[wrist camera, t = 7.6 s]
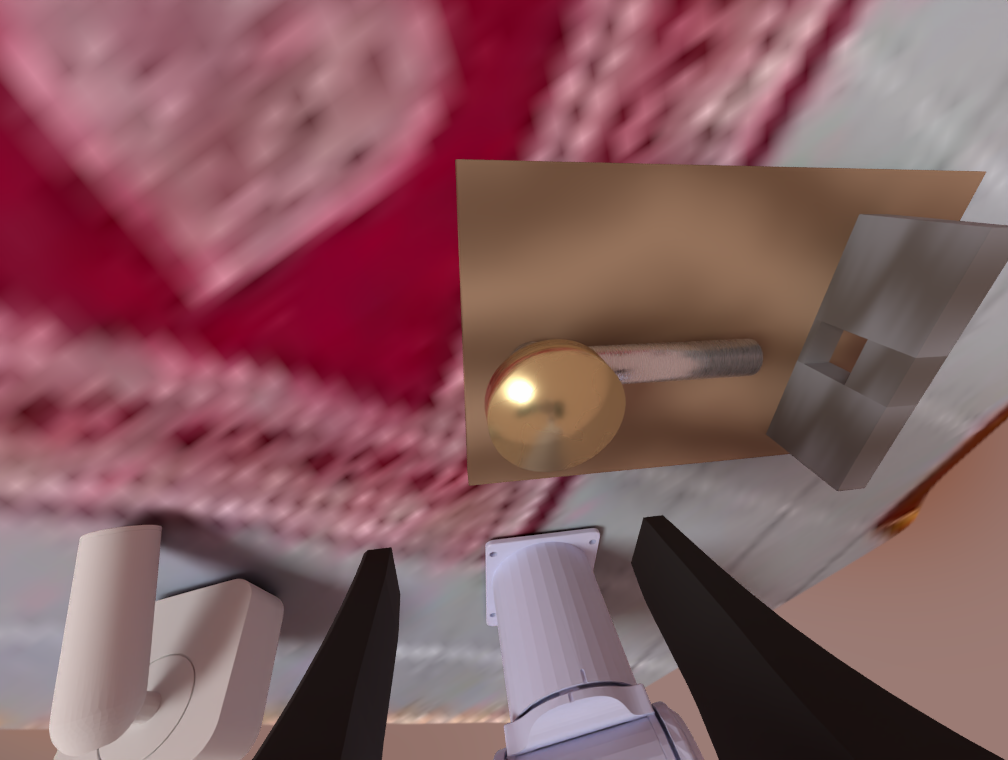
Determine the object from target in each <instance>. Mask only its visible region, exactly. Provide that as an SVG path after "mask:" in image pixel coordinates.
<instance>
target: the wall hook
mask: <svg viewBox="0 0 1008 760" xmlns="http://www.w3.org/2000/svg"><path fill="white" fill-rule="evenodd" d="M161 533H162V527H161V526H158V525H136V526H126V527H118V528H111V529H106V530H101V531H96V532H92V533H89V534H86V535H83V536H82V537H80V541H79V547H78V553H77V559H76V565H75V571H74V577H73V583H72V589H71V595H70V601H69V607H68V613H67V619H66V625H65V631H64V637H63V643H62V649H61V655H60V661H59V667H58V673H57V679H56V685H55V691H54V697H53V704H52V711H51V717H50V725H49V731H50V737H51V740H52V743H53V744H54V746H55V747H56V748H57V749H58V751H57V753H56V755H55V757H54V759H53V760H241V759H243V758H244V756H245V755H246V754H247V753H248V752H249V750H250V749H251V747H252V746H253V744H254V743H255V741H256V739H257V737H258V734H259V731H260V728H261V724H262V720H263V715H264V710H265V705H266V700H267V695H268V690H269V685H270V680H271V675H272V670H273V665H274V660H275V655H276V650H277V645H278V640H279V635H280V630H281V625H282V620H283V614H284V606H283V603H282V601H281V600H280V599H279V598H278V597H276V596H274V595H272V594H270V593H268V592H266V591H265V590H263V589H261V588H259V587H257V586H255V585H253V584H252V583H250V582H248V581H246V580H244V579H234V580H231V581H227V582H223V583H219V584H216V585H212V586H208V587H205V588H201V589H197V590H194V591H190V592H187V593H183V594H179V595H176V596H172V597H169V598H165V599H161V600H158V601H155V600H156V589H157V578H158V566H159V555H160V544H161Z"/></svg>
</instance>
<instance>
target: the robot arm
mask: <svg viewBox="0 0 1008 760" xmlns="http://www.w3.org/2000/svg"><path fill="white" fill-rule="evenodd" d="M599 539H600V533H599V530H598V529H596V528H588V529H580V530H572V531H563V532H555V533H547V534H538V535H530V536H522V537H513V538H505V539H496V540H491V541H489V542H487V543H486V546H485V550H486V621H487V625H489V626H496V625H498V631H499V638H500V646H501V653H502V661H503V668H504V676H505V683H506V690H507V698H508V705H509V713H510V720H511V723H508V724H505V725H504V732H505V740H506V748H504V749H501V750H499V751H497V752H496V754H495V756H494V759H493V760H704V758H703V756H702V754H701V752H700V750H699V748H698V746H697V744H696V742H695V740H694V738H693V736H692V734H691V733H690V731H689V729H688V727H687V726H686V724H685V722H684V721H683V720H682V718H681V717H680V716H679V715H678V714H677V713H676V712H674V711H673V710H671V709H670V708H668V706H667V705H666V704H665V703H663V702H656V703H653V704H652V705H651V702H650V700H649V697H648V695H647V693H646V690H645V688H644V685H643V684H637V683H636V680H635V678H634V675H633V673H632V670H631V668H630V665H629V663H628V660H627V657H626V655H625V652H624V650H623V647H622V645H621V642H620V640H619V637H618V634H617V632H616V629H615V627H614V624H613V622H612V619H611V616H610V614H609V611H608V609H607V606H606V604H605V601H604V599H603V596H602V593H601V591H600V588H599V586H598V583H597V581H596V578H595V576H594V573H593V569H594V564H595V559H596V554H597V549H598V544H599ZM631 564H632V567H633V569H634V572H635V575H636V578H637V581H638V583H639V586H640V589H641V591H642V594H643V596H644V599H645V601H646V603H647V605H648V607H649V609H650V611H651V613H652V615H653V617H654V619H655V621H656V623H657V625H658V627H659V629H660V631H661V633H662V635H663V637H664V639H665V641H666V643H667V645H668V647H669V649H670V651H671V653H672V655H673V657H674V659H675V661H676V663H677V665H678V667H679V669H680V671H681V673H682V675H683V677H684V679H685V681H686V683H687V685H688V687H689V689H690V691H691V694H692V696H693V698H694V700H695V702H696V704H697V706H698V709H699V711H700V714H701V716H702V719H703V721H704V724H705V726H706V729H707V731H708V733H709V736H710V738H711V741H712V743H713V746H714V748H715V750H716V753H717V756H718V758H719V760H1004V759H1003V758H1001V757H999V756H997V755H995V754H994V753H992V752H990V751H988V750H986V749H984V748H982V747H981V746H979V745H977V744H975V743H973V742H972V741H970V740H968V739H966V738H964V737H963V736H961V735H959V734H957V733H956V732H954V731H952V730H951V729H949V728H947V727H946V726H944V725H942V724H940V723H939V722H937V721H935V720H934V719H932V718H930V717H929V716H927V715H925V714H924V713H922V712H920V711H918V710H917V709H915V708H914V707H912V706H910V705H909V704H907V703H906V702H904V701H902V700H901V699H899V698H897V697H896V696H894V695H892V694H891V693H889V692H888V691H886V690H885V689H883V688H881V687H880V686H879V685H877V684H875V683H874V682H872V681H871V680H869V679H868V678H866V677H864V676H863V675H861V674H860V673H859V672H857V671H856V670H854V669H852V668H851V667H849V666H848V665H846V664H845V663H844V662H842V661H840V660H839V659H837V658H836V657H835V656H833V655H832V654H830V653H829V652H827V651H826V650H825V649H823V648H822V647H821V646H819V645H818V644H816V643H815V642H814V641H812V640H811V639H810V638H808V637H807V636H805V635H804V634H803V633H801V632H800V631H799V630H797V629H796V628H794V627H793V626H792V625H790V624H789V623H788V622H786V621H785V620H784V619H783V618H781V617H780V616H779V615H777V614H776V613H775V612H774V611H772V610H771V609H770V608H769V607H767V606H766V605H765V604H764V603H762V602H761V601H760V600H759V599H757V598H756V597H755V596H754V595H752V594H751V593H750V592H749V591H748V590H746V589H745V588H744V587H743V586H742V585H740V584H739V583H738V582H737V581H736V580H735V579H733V578H732V577H731V576H730V575H729V574H728V573H726V572H725V571H724V570H723V569H722V568H721V567H720V566H718V565H717V564H716V563H715V562H714V561H713V560H712V559H711V558H709V557H708V556H707V555H706V554H705V553H704V552H703V551H702V550H701V549H699V548H698V547H697V546H696V545H695V544H694V543H693V542H692V541H691V540H689V539H688V538H687V537H686V536H685V535H684V534H683V533H682V532H681V531H680V530H679V529H677V528H676V527H675V526H674V525H673V524H672V523H671V522H670V521H669V520H667V519H666V518H665V517H664V516H663V515H661V516H653V517H645V518H643V521H642V525H641V529H640V532H639V536H638V540H637V544H636V547H635V551H634V555H633V558H632V562H631ZM399 610H400V591H399V585H398V580H397V575H396V569H395V564H394V559H393V553H392V548H382V549H374V550H368V551H366V552H365V553H364V555H363V558H362V560H361V563H360V565H359V568H358V570H357V573H356V575H355V577H354V580H353V582H352V584H351V586H350V588H349V591H348V593H347V595H346V597H345V599H344V601H343V603H342V605H341V608H340V610H339V612H338V614H337V615H336V617H335V619H334V621H333V623H332V625H331V627H330V629H329V631H328V633H327V635H326V637H325V639H324V641H323V643H322V645H321V646H320V648H319V650H318V652H317V654H316V655H315V657H314V659H313V661H312V663H311V664H310V666H309V668H308V670H307V671H306V673H305V675H304V677H303V678H302V680H301V682H300V684H299V686H298V687H297V689H296V691H295V692H294V694H293V696H292V697H291V699H290V701H289V702H288V704H287V706H286V707H285V709H284V711H283V712H282V714H281V716H280V717H279V719H278V720H277V722H276V724H275V725H274V727H273V728H272V730H271V731H270V733H269V735H268V736H267V738H266V739H265V741H264V742H263V744H262V746H261V747H260V749H259V750H258V752H257V753H256V755H255V756H254V758H253V759H252V760H382V751H383V742H384V736H385V728H386V721H387V714H388V707H389V700H390V693H391V686H392V679H393V671H394V664H395V657H396V650H397V642H398V631H399Z"/></svg>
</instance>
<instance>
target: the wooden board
mask: <svg viewBox="0 0 1008 760" xmlns="http://www.w3.org/2000/svg"><path fill="white" fill-rule="evenodd" d="M455 163H456V189H457V215H458V240H459V266H460V292H461V318H462V343H463V369H464V395H465V421H466V446H467V471H468V481H469V485H479V484H489V483H500V482H510V481H520V480H530V479H540V478H550V477H560V476H571V475H581V474H591V473H601V472H611V471H621V470H632V469H642V468H652V467H662V466H672V465H682V464H692V463H703V462H713V461H723V460H733V459H743V458H753V457H763V456H774V455H784V454H791V455H792V456H794V457H795V458H796V459H797V460H799V461H800V462H801V463H802V464H804V465H805V466H806V467H807V468H809V469H810V470H811V471H813V472H814V473H815V474H816V475H818V476H819V477H820V478H821V479H823V480H824V481H825V482H826V483H828V484H829V485H830V486H831V487H833V488H834V489H835V490H836V491H844V490H853V489H861V488H865V486H866V485H867V483H868V482H869V480H870V479H871V477H872V475H873V474H874V472H875V471H876V469H877V467H878V466H879V464H880V463H881V461H882V459H883V458H884V456H885V455H886V453H887V452H888V450H889V448H890V447H891V445H892V444H893V442H894V440H895V439H896V437H897V436H898V434H899V432H900V431H901V429H902V428H903V426H904V425H905V423H906V421H907V420H908V418H909V417H910V415H911V413H912V412H913V410H914V409H915V407H916V406H917V404H918V402H919V401H920V399H921V398H922V396H923V394H924V393H925V391H926V390H927V388H928V386H929V385H930V383H931V382H932V380H933V379H934V377H935V375H936V374H937V372H938V371H939V369H940V367H941V366H942V364H943V363H944V361H945V359H946V358H947V356H948V355H949V353H950V352H951V350H952V348H953V347H954V345H955V344H956V342H957V340H958V339H959V337H960V336H961V334H962V332H963V331H964V329H965V328H966V326H967V325H968V323H969V321H970V320H971V318H972V317H973V315H974V313H975V312H976V310H977V309H978V307H979V306H980V304H981V302H982V301H983V299H984V298H985V296H986V294H987V293H988V291H989V290H990V288H991V286H992V285H993V283H994V282H995V280H996V279H997V277H998V275H999V274H1000V272H1001V271H1002V269H1003V267H1004V266H1005V264H1006V263H1007V261H1008V225H997V224H986V223H976V222H965V221H960V219H961V217H962V216H963V214H964V212H965V210H966V208H967V206H968V204H969V203H970V201H971V199H972V197H973V195H974V193H975V192H976V190H977V188H978V186H979V184H980V182H981V181H982V179H983V177H984V175H985V173H986V172H981V171H938V170H894V169H851V168H807V167H764V166H720V165H676V164H633V163H589V162H546V161H502V160H458V159H457V160H455ZM553 339H564V340H571V341H575V342H578V343H581V344H583V345H586V346H606V345H626V344H647V343H667V342H688V341H708V340H728V339H753V340H755V341H756V342H757V343H758V344H759V345H760V347H761V349H762V352H763V363H762V366H761V368H760V370H759V371H758V372H757V373H756V374H754V375H752V376H742V377H727V378H711V379H696V380H680V381H665V382H649V383H634V384H622V386H623V389H624V393H625V403H626V406H625V413H624V417H623V420H622V423H621V425H620V427H619V429H618V431H617V433H616V434H615V436H614V437H613V439H612V440H611V441H610V442H609V443H608V444H607V446H606V447H605V448H604V449H602V450H601V451H600V452H599V453H598V454H596V455H595V456H594V457H592V458H590V459H589V460H587V461H585V462H583V463H581V464H579V465H577V466H574V467H571V468H568V469H564V470H560V471H553V472H538V471H531V470H527V469H523V468H520V467H518V466H516V465H514V464H512V463H511V462H509V461H507V460H506V459H505V458H504V457H503V456H502V455H501V454H500V453H499V452H498V451H497V449H496V448H495V446H494V445H493V442H492V440H491V438H490V434H489V430H488V425H487V420H486V415H485V407H484V402H485V394H486V389H487V387H488V384H489V381H490V380H491V378H492V376H493V374H494V373H495V371H496V370H497V369H498V367H499V366H500V365H501V364H502V363H503V362H504V361H505V360H506V359H507V358H508V357H510V356H511V354H512V352H513V351H514V350H515V349H516V348H517V347H518V346H519V345H521V344H523V343H526V342H531V341H535V342H540V341H545V340H553Z"/></svg>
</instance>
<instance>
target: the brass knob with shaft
mask: <svg viewBox="0 0 1008 760" xmlns="http://www.w3.org/2000/svg"><path fill="white" fill-rule="evenodd" d="M762 363H763V352H762V349H761V347H760V345H759V344H758V343H757V342H756V341H755V340H753V339H728V340H708V341H688V342H667V343H647V344H626V345H606V346H586V345H583V344H581V343H578V342H575V341H571V340H564V339H553V340H545V341H540V342H535V341H531V342H526V343H523V344H521V345H519V346H518V347H517V348H516V349H515V350H514V351H513V352H512V354H511V356H510V357H508V358H507V359H506V360H505V361H504V362H503V363H502V364H501V365H500V366H499V367H498V369H497V370H496V371H495V373H494V374H493V376H492V378H491V380H490V381H489V384H488V387H487V389H486V394H485V402H484V407H485V415H486V420H487V425H488V430H489V434H490V438H491V440H492V442H493V445H494V446H495V448H496V449H497V451H498V452H499V453H500V454H501V455H502V456H503V457H504V458H505V459H506V460H507V461H509V462H511V463H512V464H514V465H516V466H518V467H520V468H523V469H527V470H531V471H538V472H553V471H560V470H564V469H568V468H571V467H574V466H577V465H579V464H581V463H583V462H585V461H587V460H589V459H590V458H592V457H594V456H595V455H596V454H598V453H599V452H600V451H601V450H602V449H604V448H605V447H606V446H607V444H608V443H609V442H610V441H611V440H612V439H613V437H614V436H615V434H616V433H617V431H618V429H619V427H620V425H621V423H622V420H623V417H624V413H625V406H626V403H625V393H624V389H623V386H622V384H634V383H649V382H665V381H680V380H696V379H711V378H727V377H742V376H752V375H754V374H756V373H757V372H758V371H759V370H760V368H761V366H762Z"/></svg>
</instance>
